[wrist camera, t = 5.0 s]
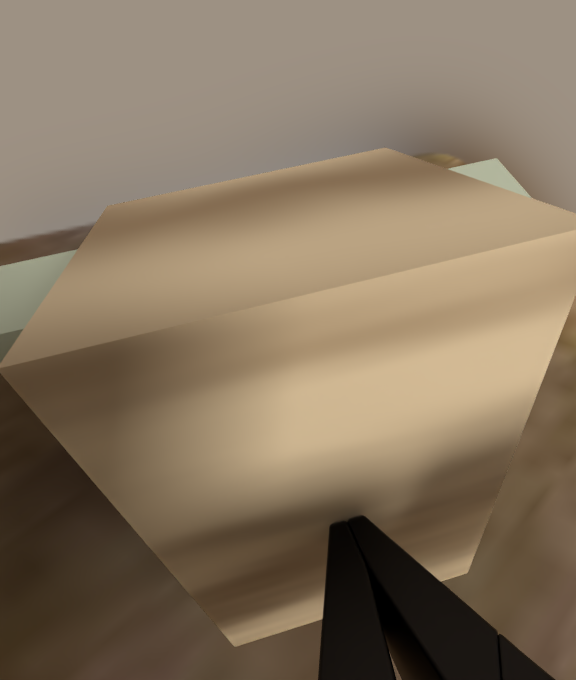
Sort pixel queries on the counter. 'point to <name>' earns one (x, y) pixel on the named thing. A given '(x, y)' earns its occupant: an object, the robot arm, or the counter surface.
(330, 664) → the robot arm
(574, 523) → the counter surface
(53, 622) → the counter surface
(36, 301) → the green board
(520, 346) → the maple block
